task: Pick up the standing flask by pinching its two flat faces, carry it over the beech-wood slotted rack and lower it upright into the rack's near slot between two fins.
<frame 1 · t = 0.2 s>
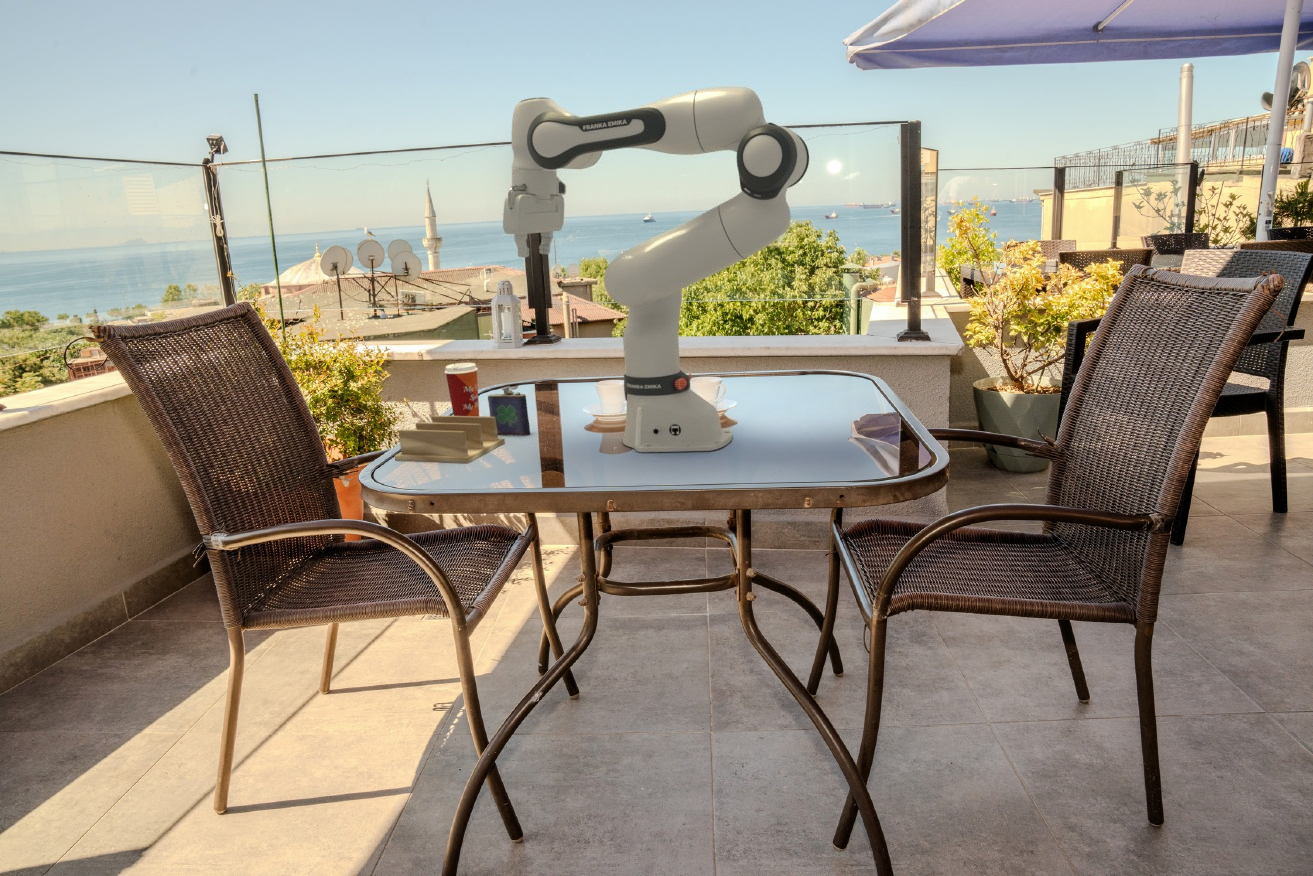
hand: (534, 255, 177), 38 cm above the table, tool pointing down, fingers open, 8 cm apart
paper cup: (467, 424, 205), on the table
rack: (451, 451, 180), on the table
flask: (511, 434, 192), on the table
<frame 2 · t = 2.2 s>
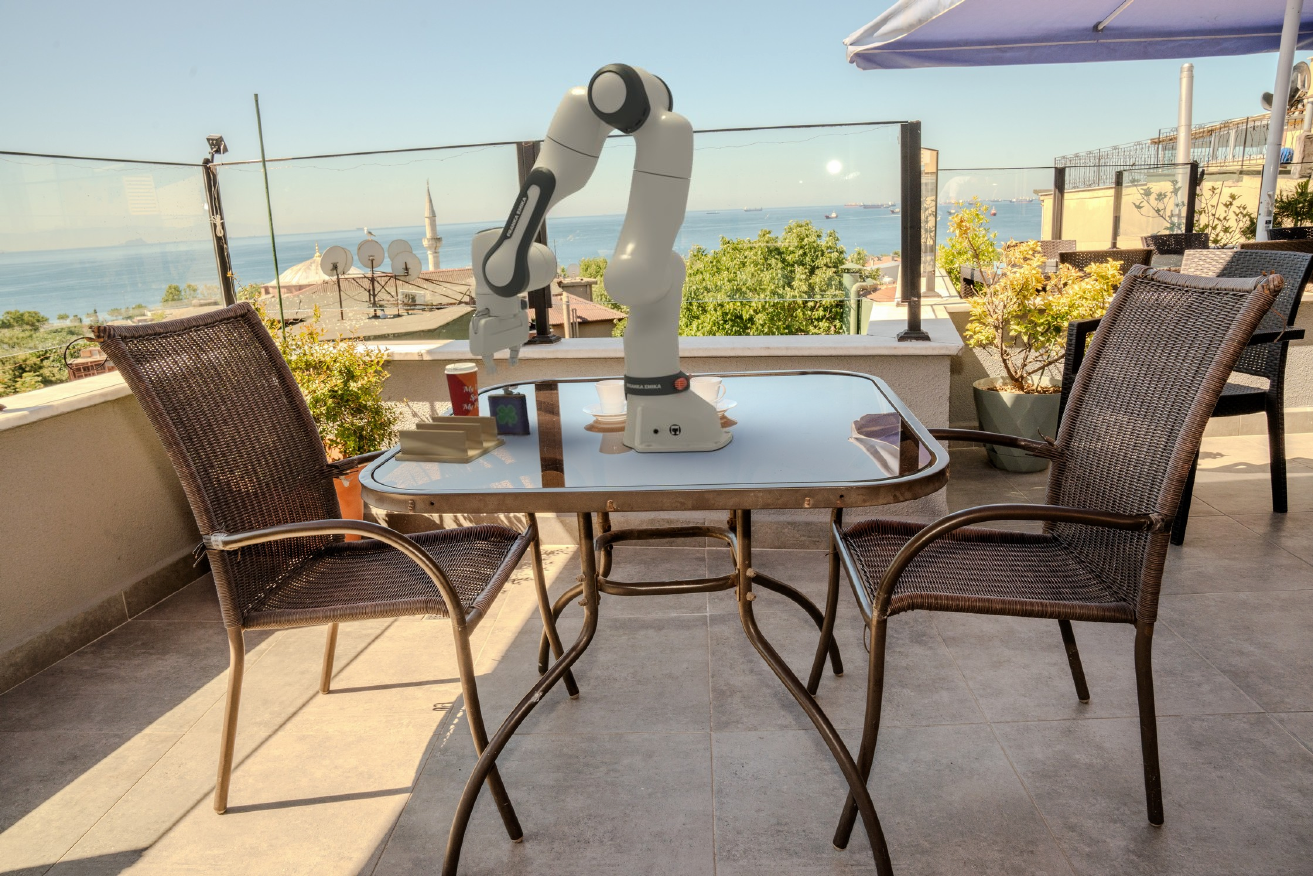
hand: (503, 369, 188), 14 cm above the table, tool pointing down, fingers open, 8 cm apart
nothing on the table moved.
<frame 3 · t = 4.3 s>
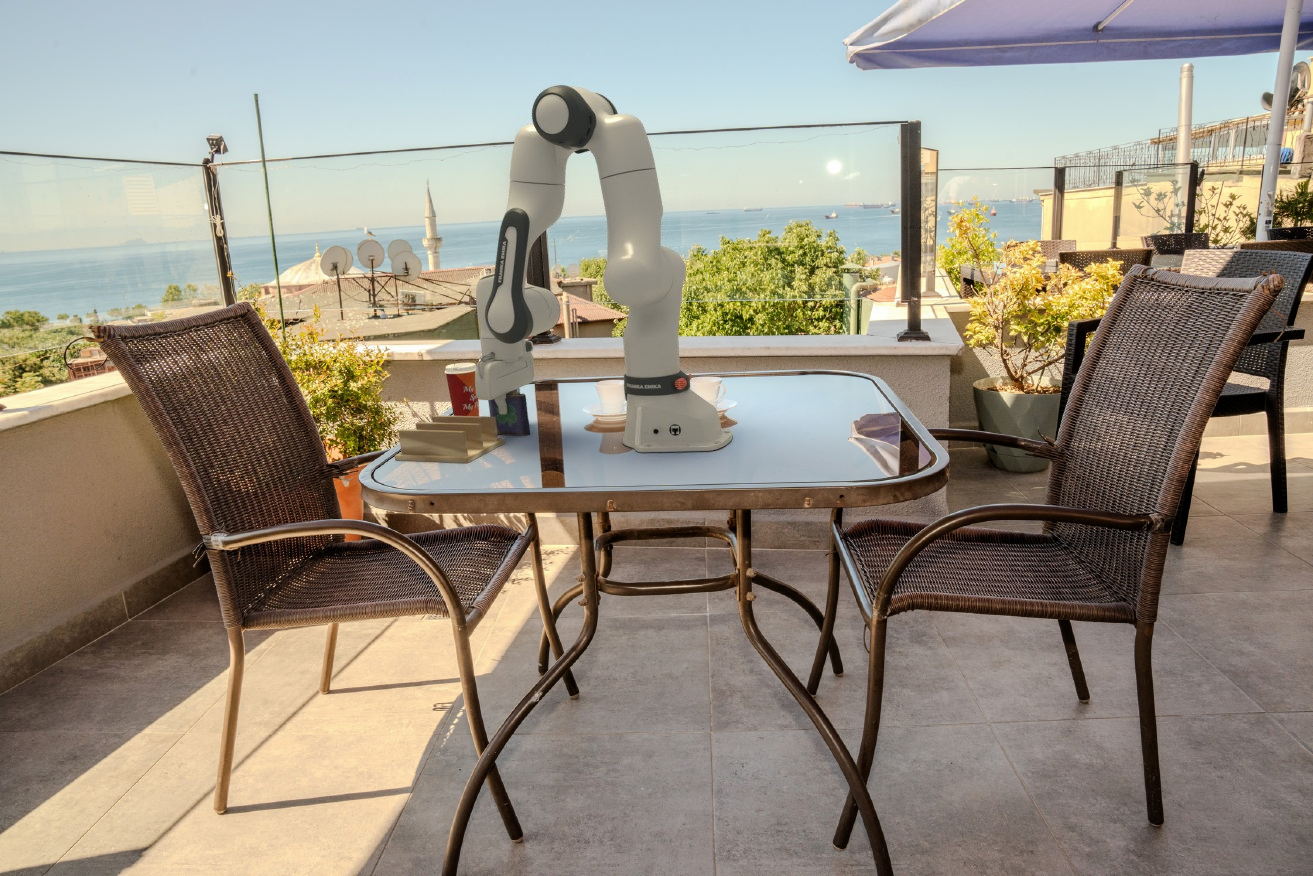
hand: (509, 411, 191), 5 cm above the table, tool pointing down, fingers closed on flask, 3 cm apart
flask: (511, 434, 192), on the table, touching gripper
everything else where it was.
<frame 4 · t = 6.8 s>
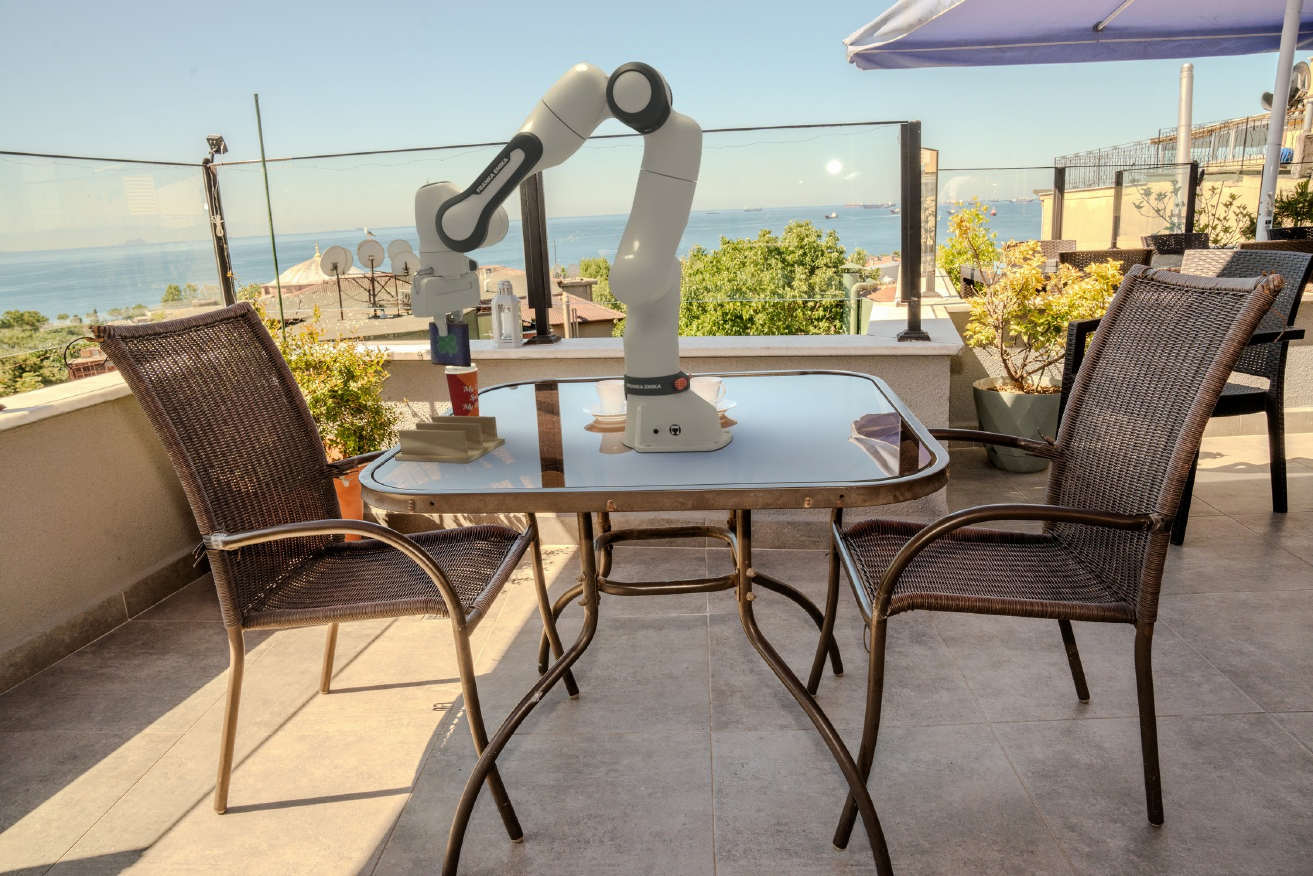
hand: (450, 334, 178), 24 cm above the table, tool pointing down, fingers closed on flask, 3 cm apart
flask: (451, 366, 180), point 17 cm above the table, touching gripper
everything else where it was.
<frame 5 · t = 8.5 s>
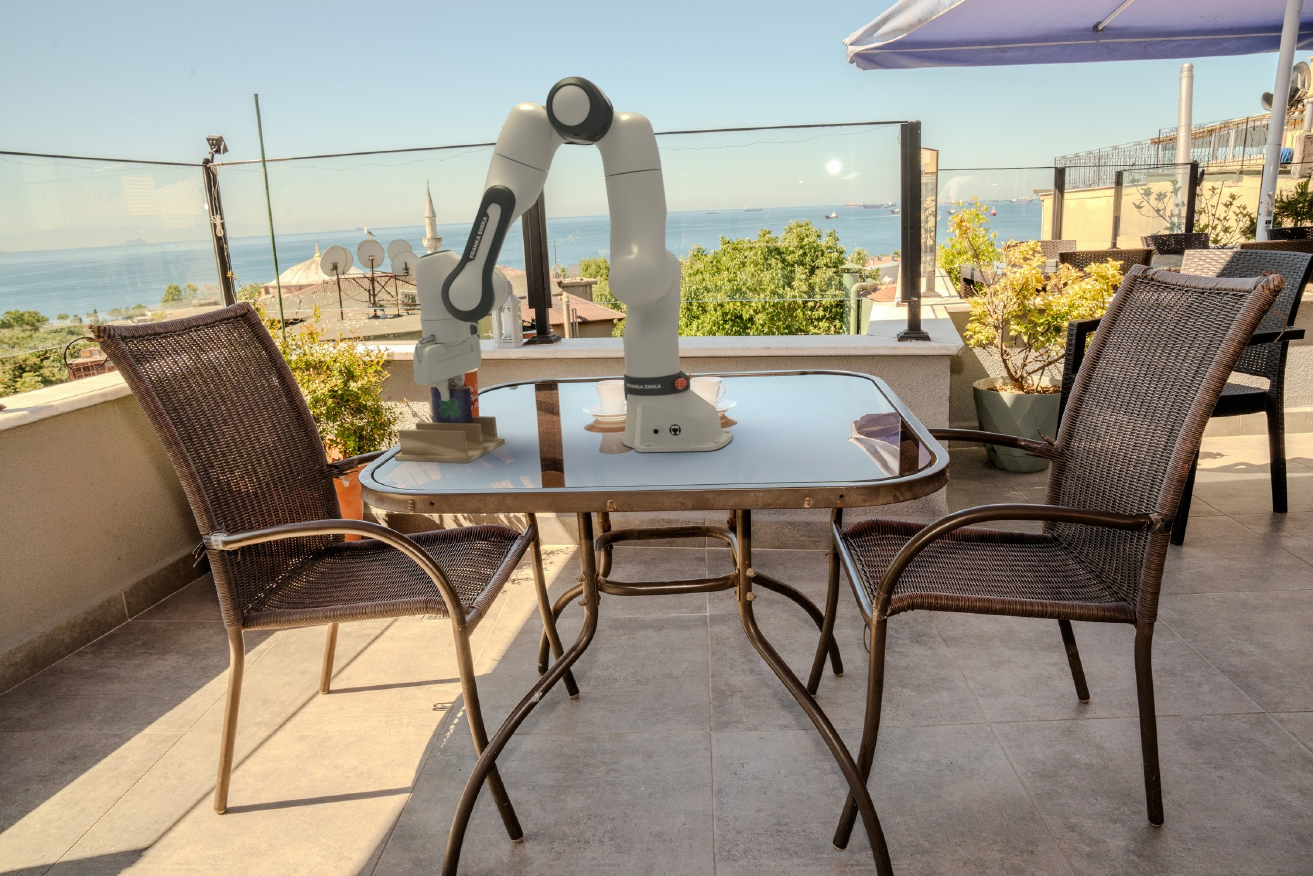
hand: (452, 398, 180), 11 cm above the table, tool pointing down, fingers closed on flask, 3 cm apart
flask: (453, 429, 182), point 4 cm above the table, touching gripper
everything else where it was.
when the fingers open (7 cm above the table, at t = 9.4 s): flask stays where it is, resting on rack.
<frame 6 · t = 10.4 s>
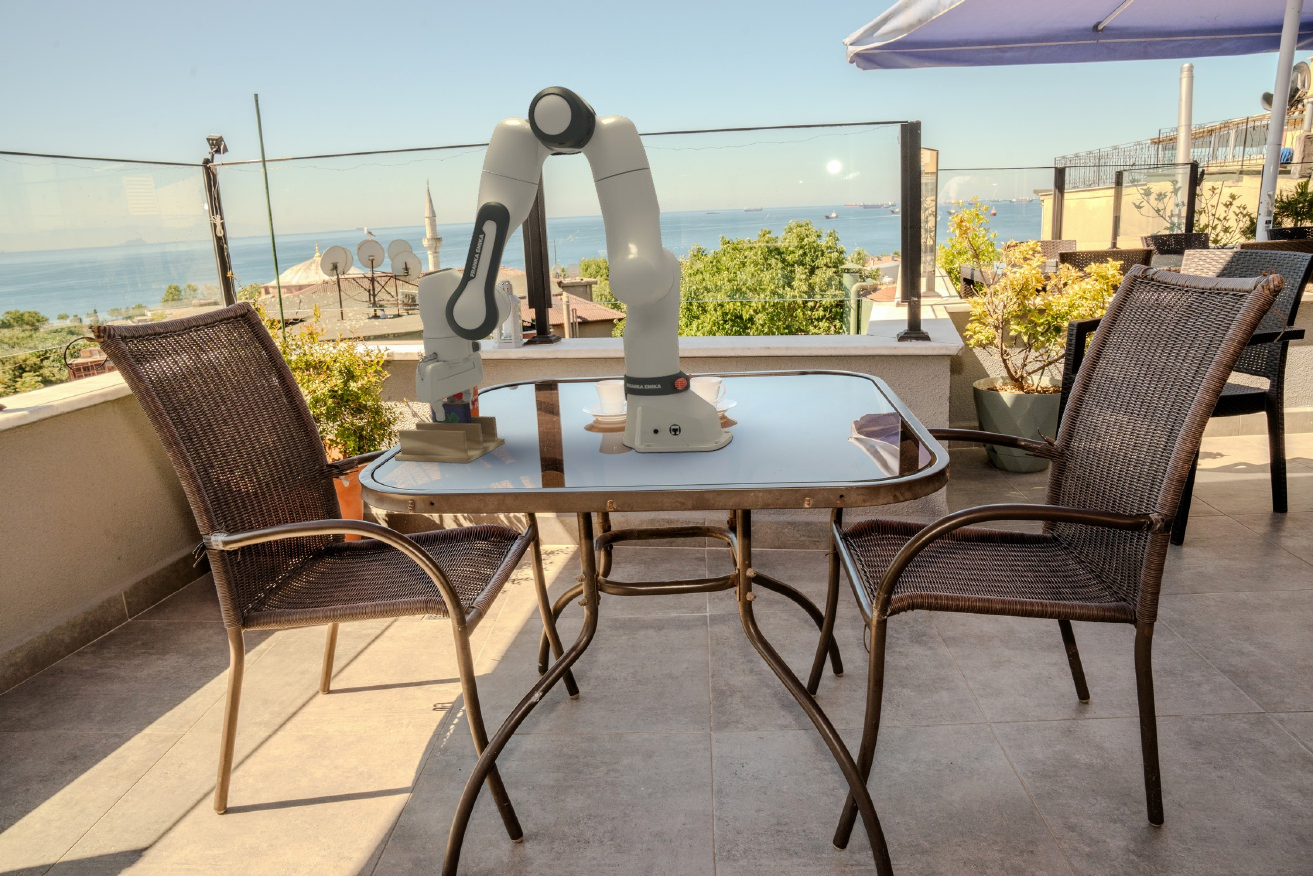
hand: (454, 414, 181), 7 cm above the table, tool pointing down, fingers open, 8 cm apart
flask: (455, 444, 183), point 1 cm above the table, touching rack
everything else where it was.
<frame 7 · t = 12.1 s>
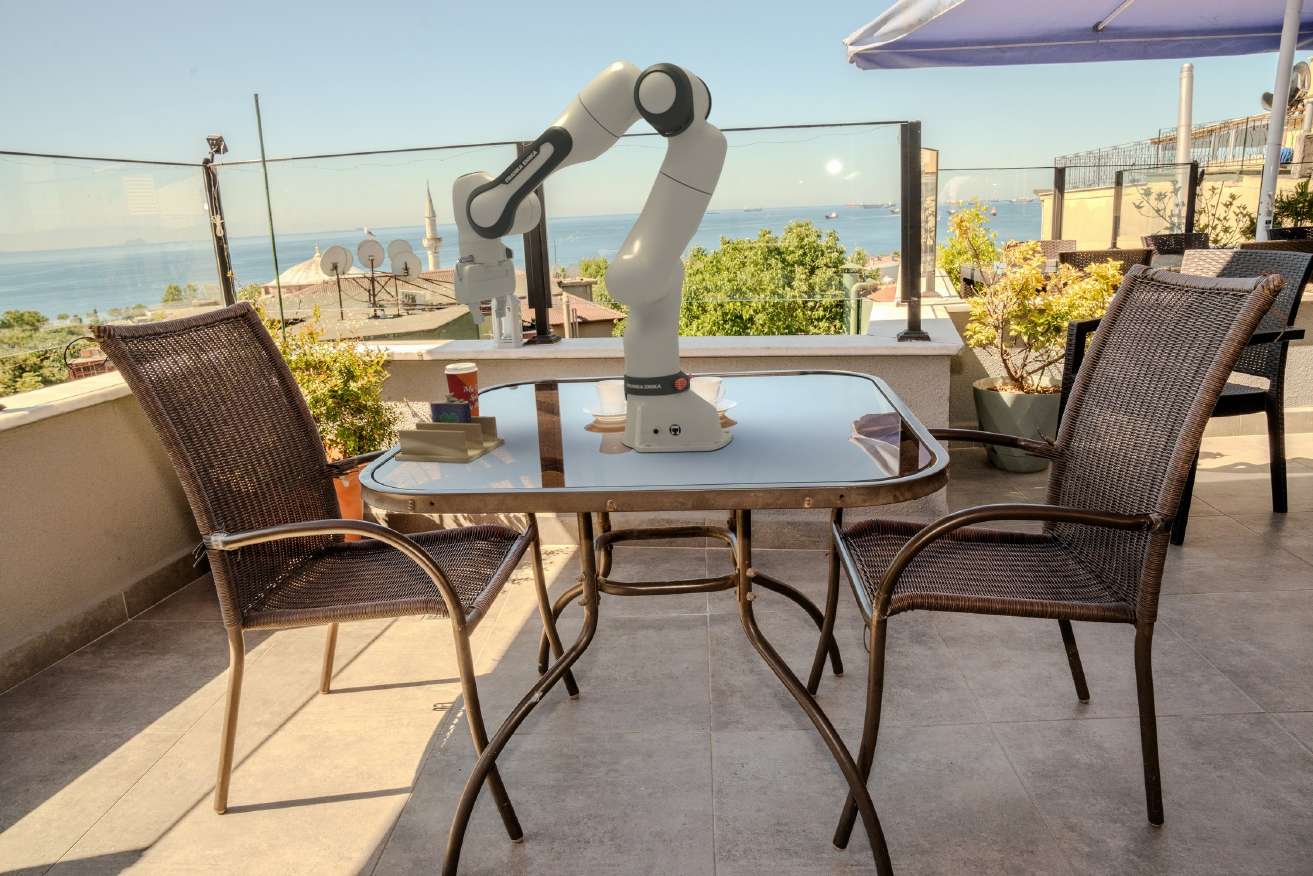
hand: (490, 320, 184), 25 cm above the table, tool pointing down, fingers open, 8 cm apart
nothing on the table moved.
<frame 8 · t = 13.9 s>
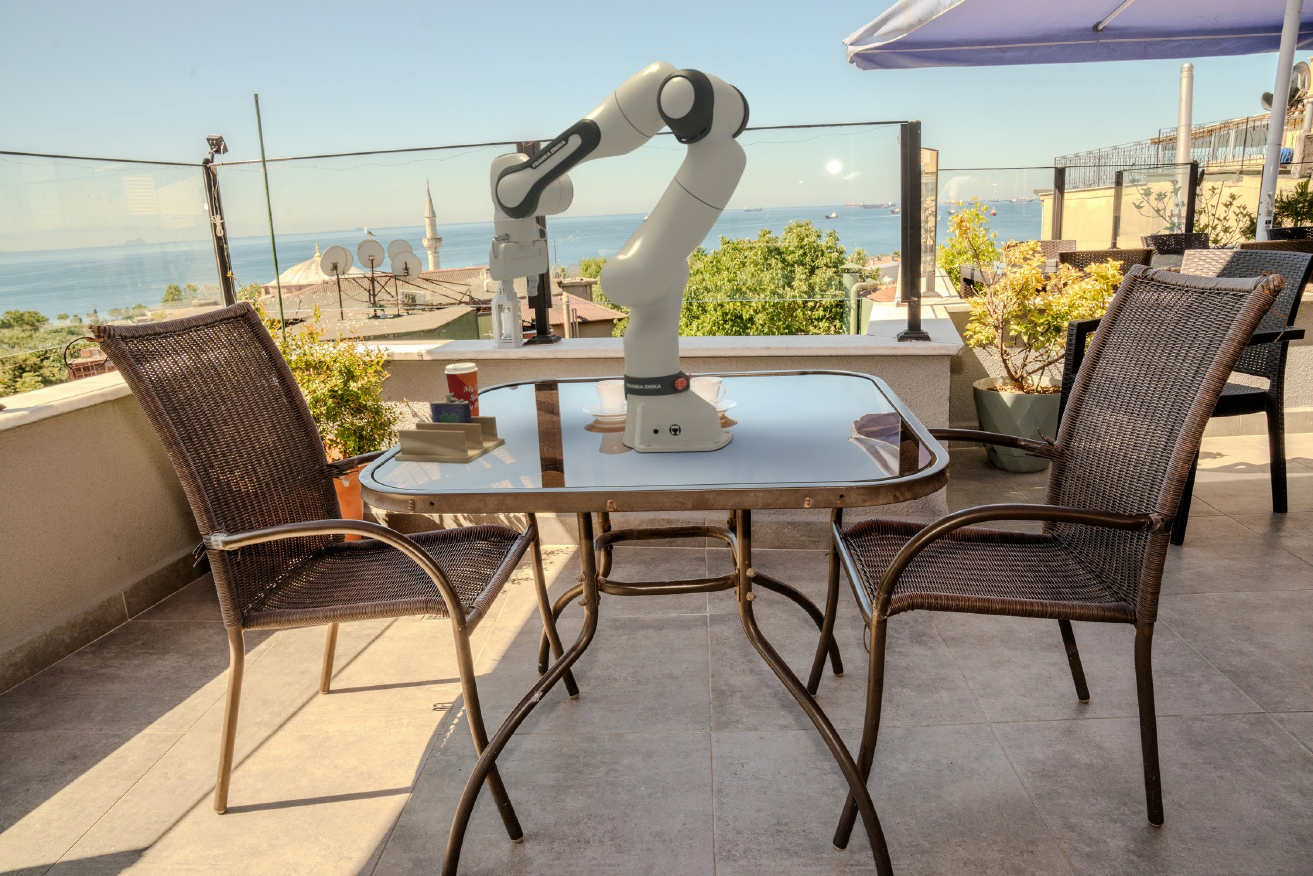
hand: (522, 298, 189), 29 cm above the table, tool pointing down, fingers open, 8 cm apart
nothing on the table moved.
at the end: flask inside the target area on the rack (0.6 cm from its centre), point 0.8 cm above the rack's base; flask tilted 1°; the gripper is holding nothing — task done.
